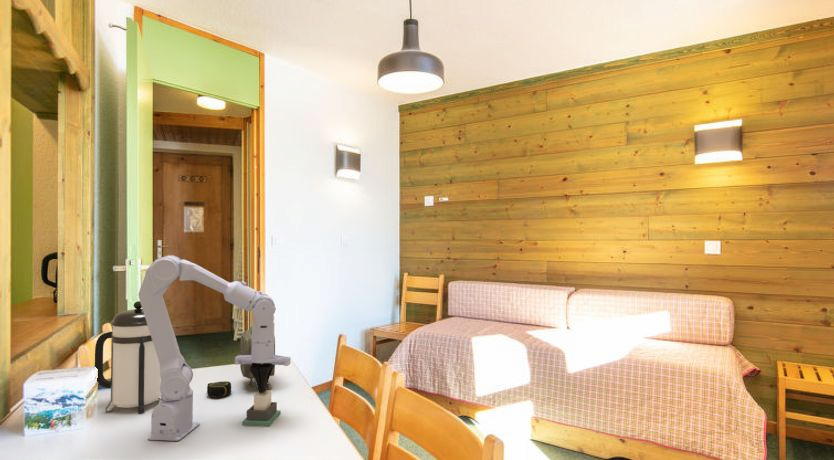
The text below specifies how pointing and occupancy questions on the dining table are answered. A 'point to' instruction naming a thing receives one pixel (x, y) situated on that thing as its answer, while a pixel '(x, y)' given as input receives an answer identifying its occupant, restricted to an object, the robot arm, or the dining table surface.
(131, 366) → the coffee press
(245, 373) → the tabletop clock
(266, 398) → the plug
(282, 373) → the dining table surface
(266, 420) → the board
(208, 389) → the tape measure
